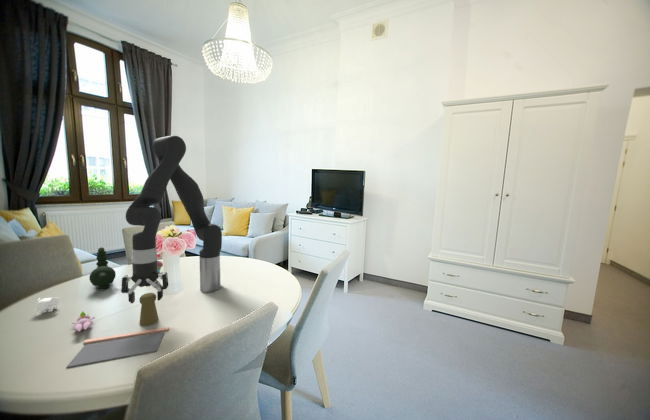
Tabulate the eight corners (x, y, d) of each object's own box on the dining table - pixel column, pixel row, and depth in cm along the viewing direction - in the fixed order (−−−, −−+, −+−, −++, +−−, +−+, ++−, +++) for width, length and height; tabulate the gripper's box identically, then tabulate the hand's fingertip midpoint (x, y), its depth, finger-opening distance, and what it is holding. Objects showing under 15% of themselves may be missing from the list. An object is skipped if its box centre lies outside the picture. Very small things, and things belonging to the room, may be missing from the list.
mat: (164, 333, 88) (164, 332, 88) (156, 351, 79) (156, 350, 79) (85, 345, 80) (85, 344, 80) (66, 368, 71) (66, 366, 71)
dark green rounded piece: (91, 283, 129) (89, 296, 111) (88, 247, 128) (86, 255, 110) (115, 278, 136) (117, 291, 117) (112, 244, 135) (114, 251, 116)
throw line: (169, 328, 91) (168, 326, 91) (168, 330, 90) (168, 329, 90) (85, 341, 82) (85, 339, 82) (83, 344, 81) (83, 342, 81)
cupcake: (153, 270, 146) (153, 250, 144) (166, 271, 145) (166, 251, 143) (141, 275, 137) (140, 254, 136) (155, 276, 136) (153, 255, 135)
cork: (148, 327, 91) (147, 299, 90) (135, 324, 93) (133, 296, 91) (162, 318, 97) (161, 291, 96) (149, 316, 99) (148, 289, 97)
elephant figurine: (28, 317, 95) (27, 302, 94) (47, 306, 103) (46, 293, 102) (50, 315, 96) (48, 301, 95) (66, 305, 104) (65, 292, 103)
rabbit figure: (72, 325, 93) (69, 339, 82) (71, 310, 93) (68, 321, 82) (95, 319, 97) (95, 331, 86) (94, 304, 97) (94, 314, 86)
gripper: (169, 255, 98) (170, 294, 100) (125, 257, 93) (127, 298, 95) (164, 261, 91) (165, 303, 93) (117, 264, 86) (119, 308, 88)
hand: (146, 301), depth 94 cm, fingers open, 8 cm apart
